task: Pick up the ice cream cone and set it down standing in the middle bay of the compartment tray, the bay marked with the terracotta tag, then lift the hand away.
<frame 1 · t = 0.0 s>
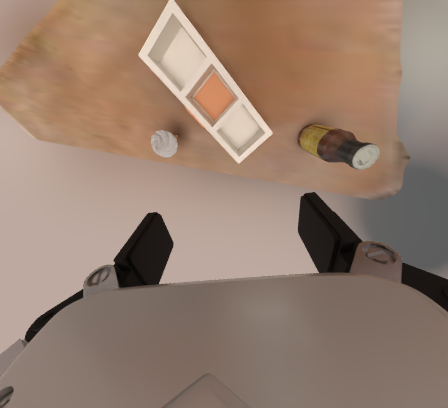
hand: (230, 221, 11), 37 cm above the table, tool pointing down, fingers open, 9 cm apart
ice cream cone: (177, 135, 44), on the table
sauce bottle: (309, 136, 43), on the table
compartment tray: (214, 98, 39), on the table
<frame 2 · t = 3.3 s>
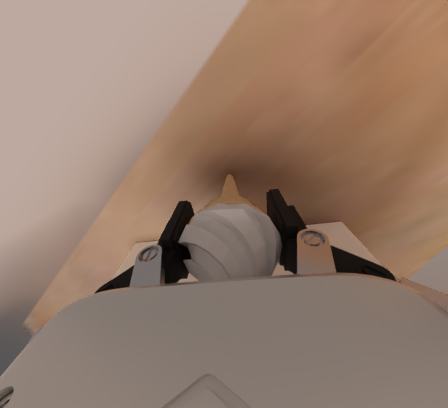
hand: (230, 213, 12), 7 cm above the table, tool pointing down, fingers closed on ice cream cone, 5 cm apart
ice cream cone: (230, 175, 18), on the table, touching gripper
compartment tray: (236, 258, 25), on the table
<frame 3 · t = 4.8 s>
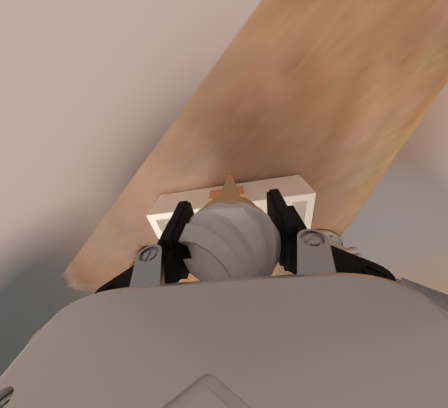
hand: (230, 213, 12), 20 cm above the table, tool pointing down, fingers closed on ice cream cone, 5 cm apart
ice cream cone: (230, 175, 18), point 12 cm above the table, touching gripper
compartment tray: (230, 205, 35), on the table
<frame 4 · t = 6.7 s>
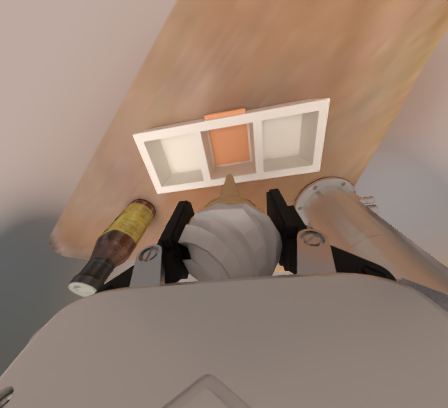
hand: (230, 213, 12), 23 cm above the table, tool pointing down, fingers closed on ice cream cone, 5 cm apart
ice cream cone: (230, 175, 18), point 16 cm above the table, touching gripper
sauce bottle: (143, 209, 40), on the table
compartment tray: (229, 143, 31), on the table
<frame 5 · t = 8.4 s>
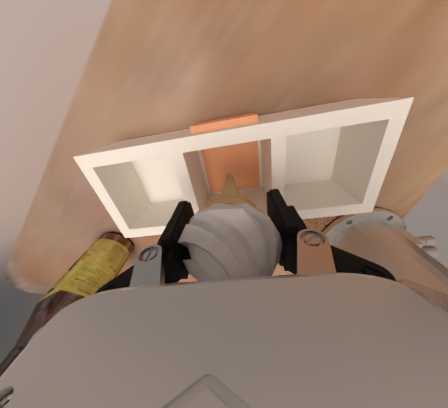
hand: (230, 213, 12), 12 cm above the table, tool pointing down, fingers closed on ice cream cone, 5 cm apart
ice cream cone: (230, 175, 18), point 5 cm above the table, touching gripper
sauce bottle: (118, 243, 31), on the table
compartment tray: (231, 163, 22), on the table
when the fingers open (8 cm above the table, at t = 10.0 s): ice cream cone stays where it is, resting on compartment tray.
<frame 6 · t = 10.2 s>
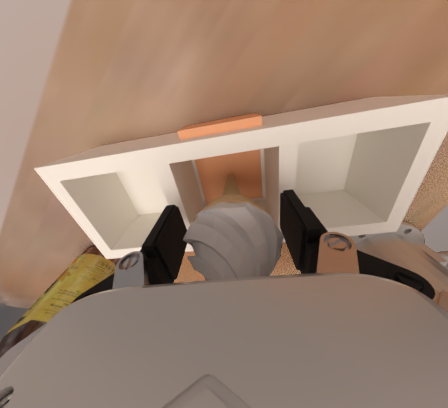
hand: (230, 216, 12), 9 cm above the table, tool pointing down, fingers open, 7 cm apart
ice cream cone: (231, 175, 18), point 1 cm above the table, touching compartment tray
sauce bottle: (106, 256, 28), on the table
compartment tray: (229, 171, 19), on the table
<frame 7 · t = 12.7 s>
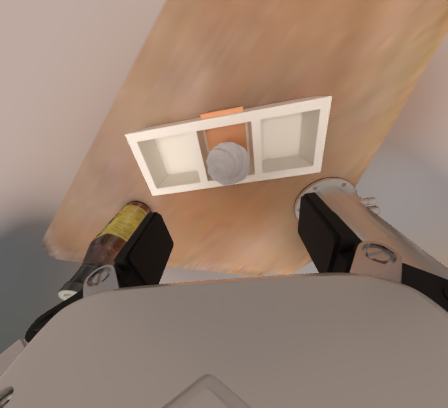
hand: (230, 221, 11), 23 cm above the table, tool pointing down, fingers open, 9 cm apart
ice cream cone: (228, 145, 29), point 1 cm above the table, touching compartment tray
sauce bottle: (139, 211, 39), on the table
compartment tray: (227, 143, 30), on the table
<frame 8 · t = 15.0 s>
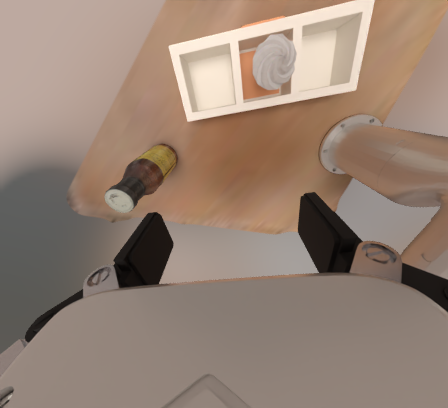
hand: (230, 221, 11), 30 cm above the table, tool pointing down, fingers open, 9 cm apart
ice cream cone: (260, 75, 30), point 1 cm above the table, touching compartment tray
sauce bottle: (165, 157, 40), on the table
compartment tray: (259, 75, 31), on the table
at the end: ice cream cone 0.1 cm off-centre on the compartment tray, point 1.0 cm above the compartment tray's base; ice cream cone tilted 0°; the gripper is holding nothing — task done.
